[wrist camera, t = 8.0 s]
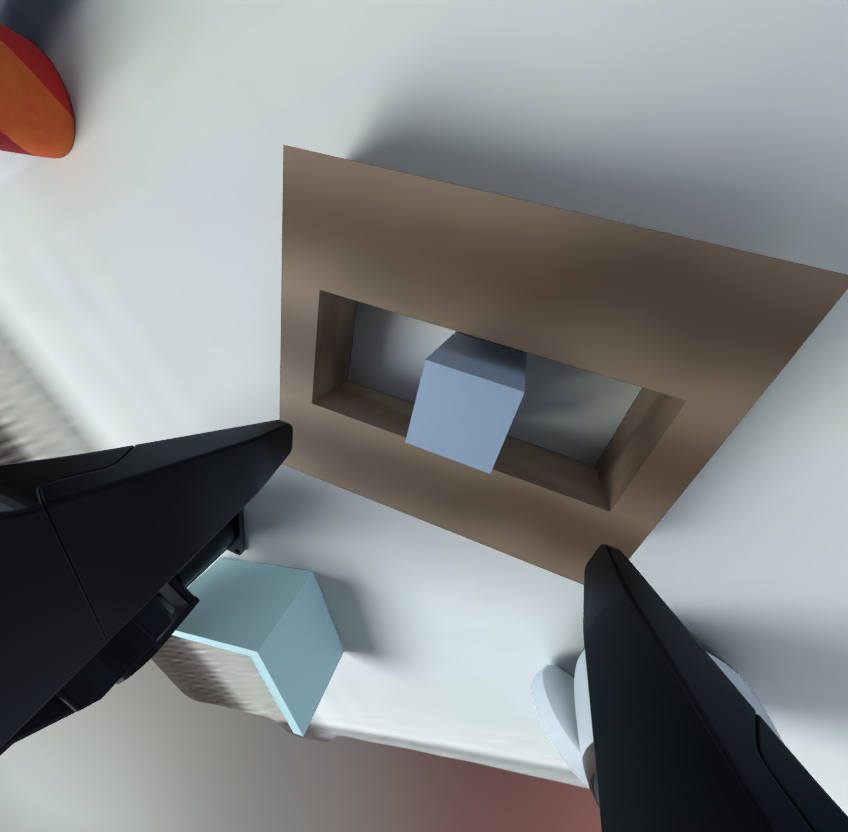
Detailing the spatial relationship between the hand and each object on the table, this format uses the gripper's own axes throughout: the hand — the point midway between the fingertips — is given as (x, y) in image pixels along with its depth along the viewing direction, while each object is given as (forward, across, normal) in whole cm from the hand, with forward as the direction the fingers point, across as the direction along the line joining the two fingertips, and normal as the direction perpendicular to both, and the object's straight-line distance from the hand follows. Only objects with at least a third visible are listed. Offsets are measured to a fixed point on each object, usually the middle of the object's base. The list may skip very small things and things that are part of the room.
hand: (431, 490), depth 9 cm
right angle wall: (+11, +12, +32) cm, 36 cm away
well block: (+11, 0, 0) cm, 11 cm away
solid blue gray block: (+11, 0, 0) cm, 11 cm away
